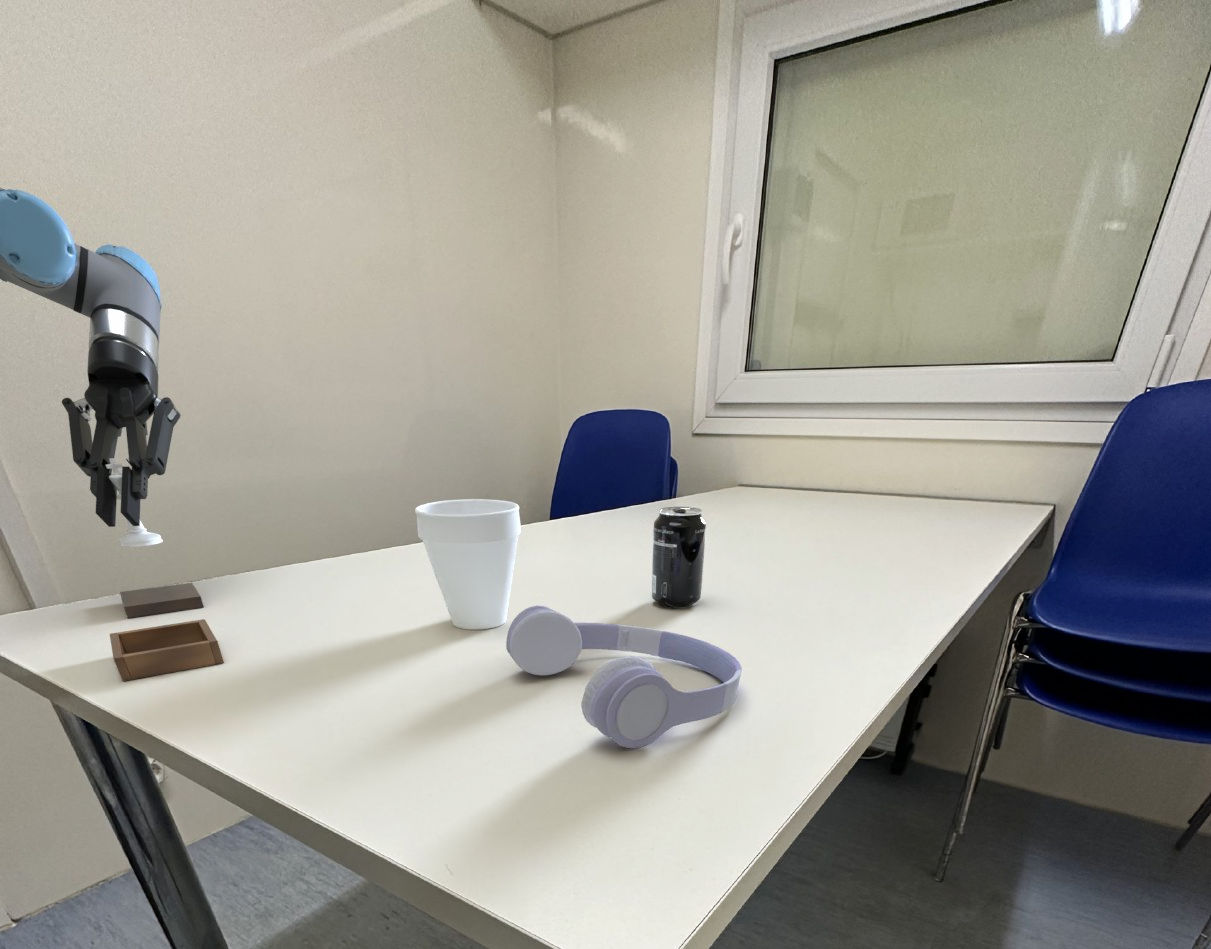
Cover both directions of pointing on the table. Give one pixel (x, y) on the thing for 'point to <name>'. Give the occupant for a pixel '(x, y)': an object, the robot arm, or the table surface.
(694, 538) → the beverage can
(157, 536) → the chess piece
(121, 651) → the oak box
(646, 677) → the headphones
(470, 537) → the cup
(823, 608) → the table surface
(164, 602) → the walnut stand
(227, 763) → the table surface
